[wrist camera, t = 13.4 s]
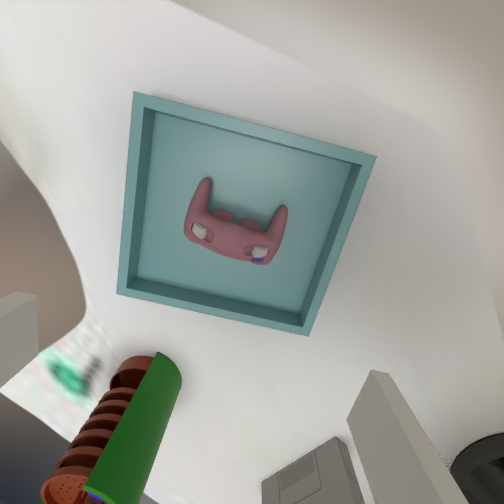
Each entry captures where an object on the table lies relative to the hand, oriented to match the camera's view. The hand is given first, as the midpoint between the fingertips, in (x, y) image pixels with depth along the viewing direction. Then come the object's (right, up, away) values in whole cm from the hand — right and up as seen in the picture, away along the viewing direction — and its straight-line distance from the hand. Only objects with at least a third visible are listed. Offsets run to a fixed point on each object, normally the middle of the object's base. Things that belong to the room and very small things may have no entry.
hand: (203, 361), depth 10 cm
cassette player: (+10, -30, +32) cm, 45 cm away
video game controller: (0, +8, +18) cm, 20 cm away
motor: (-13, -14, +27) cm, 33 cm away
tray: (0, +8, +19) cm, 21 cm away
